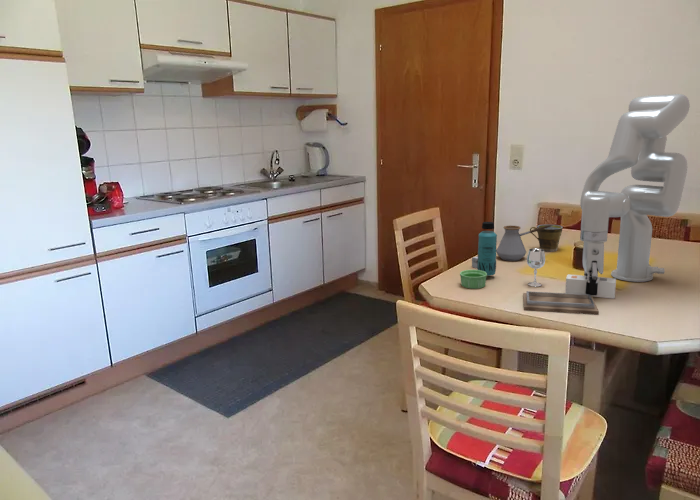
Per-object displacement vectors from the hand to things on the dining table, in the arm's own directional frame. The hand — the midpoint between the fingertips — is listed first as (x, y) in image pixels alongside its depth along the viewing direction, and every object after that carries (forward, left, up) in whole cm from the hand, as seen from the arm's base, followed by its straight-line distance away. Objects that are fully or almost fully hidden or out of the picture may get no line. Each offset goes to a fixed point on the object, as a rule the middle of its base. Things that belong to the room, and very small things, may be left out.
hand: (589, 291), depth 164 cm
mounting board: (+10, +12, -1) cm, 16 cm away
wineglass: (+16, -7, -1) cm, 17 cm away
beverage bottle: (+32, -13, -1) cm, 35 cm away
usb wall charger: (+34, -27, -1) cm, 43 cm away
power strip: (0, 0, -1) cm, 1 cm away
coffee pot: (+19, -39, -1) cm, 43 cm away
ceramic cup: (+10, -57, -1) cm, 58 cm away
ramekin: (+36, -3, -1) cm, 36 cm away
